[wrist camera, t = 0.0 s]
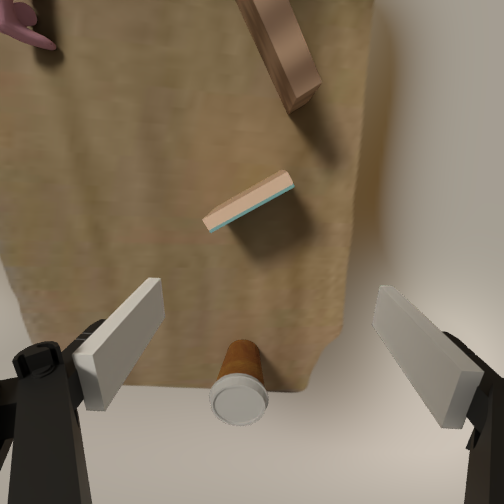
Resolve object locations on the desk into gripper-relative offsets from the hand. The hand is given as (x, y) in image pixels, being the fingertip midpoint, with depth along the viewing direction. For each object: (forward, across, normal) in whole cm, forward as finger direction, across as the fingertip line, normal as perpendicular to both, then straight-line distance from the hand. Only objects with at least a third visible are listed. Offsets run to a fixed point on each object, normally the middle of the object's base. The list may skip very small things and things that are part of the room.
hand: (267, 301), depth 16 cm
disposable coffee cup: (+28, -3, -28) cm, 40 cm away
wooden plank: (+28, 0, +23) cm, 36 cm away
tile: (+28, -2, +3) cm, 28 cm away
